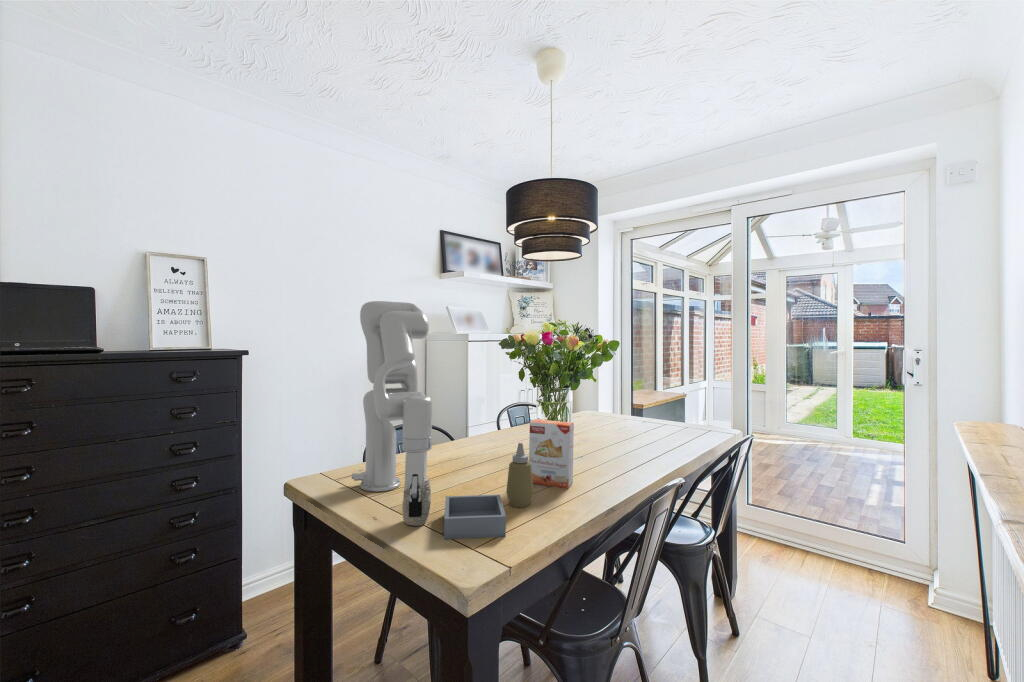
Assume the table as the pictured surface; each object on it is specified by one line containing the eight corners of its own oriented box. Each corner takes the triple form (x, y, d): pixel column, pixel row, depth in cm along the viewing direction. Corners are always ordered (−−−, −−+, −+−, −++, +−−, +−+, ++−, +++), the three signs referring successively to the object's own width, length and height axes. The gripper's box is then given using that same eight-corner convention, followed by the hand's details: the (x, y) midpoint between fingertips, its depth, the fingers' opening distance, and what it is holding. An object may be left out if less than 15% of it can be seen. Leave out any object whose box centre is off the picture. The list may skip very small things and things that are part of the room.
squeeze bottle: (524, 511, 125) (525, 448, 124) (500, 505, 129) (501, 444, 129) (538, 502, 131) (539, 442, 131) (515, 497, 136) (515, 438, 136)
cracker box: (528, 483, 149) (528, 421, 148) (533, 478, 154) (534, 418, 154) (568, 489, 143) (569, 425, 143) (573, 483, 149) (574, 421, 149)
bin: (444, 539, 107) (444, 518, 107) (445, 514, 122) (445, 496, 122) (505, 536, 109) (505, 516, 109) (499, 512, 124) (499, 494, 124)
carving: (425, 528, 113) (425, 482, 113) (397, 526, 114) (398, 479, 114) (434, 518, 119) (434, 474, 119) (408, 516, 120) (408, 472, 120)
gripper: (406, 436, 124) (405, 499, 125) (398, 452, 107) (397, 525, 107) (433, 435, 125) (432, 498, 126) (429, 451, 108) (429, 524, 108)
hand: (416, 510), depth 117 cm, fingers closed on carving, 6 cm apart
